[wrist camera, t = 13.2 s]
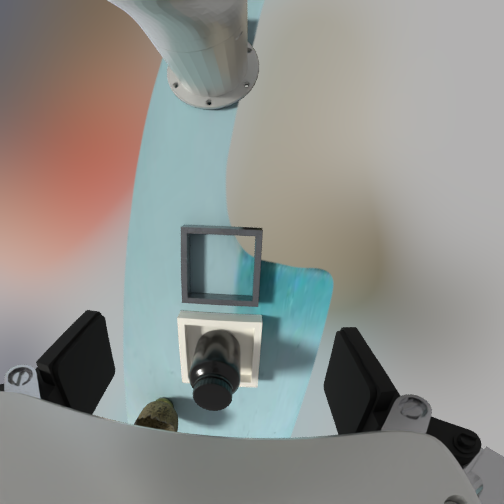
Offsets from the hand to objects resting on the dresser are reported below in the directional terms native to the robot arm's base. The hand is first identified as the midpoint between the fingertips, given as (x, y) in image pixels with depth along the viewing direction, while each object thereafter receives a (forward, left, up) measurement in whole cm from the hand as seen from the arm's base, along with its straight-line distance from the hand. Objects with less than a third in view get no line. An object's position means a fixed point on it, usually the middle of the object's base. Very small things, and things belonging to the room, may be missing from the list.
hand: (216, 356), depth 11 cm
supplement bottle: (+18, -2, -29) cm, 34 cm away
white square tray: (+18, -2, -29) cm, 35 cm away
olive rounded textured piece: (+32, -13, -30) cm, 46 cm away
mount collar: (+5, -2, -29) cm, 30 cm away
